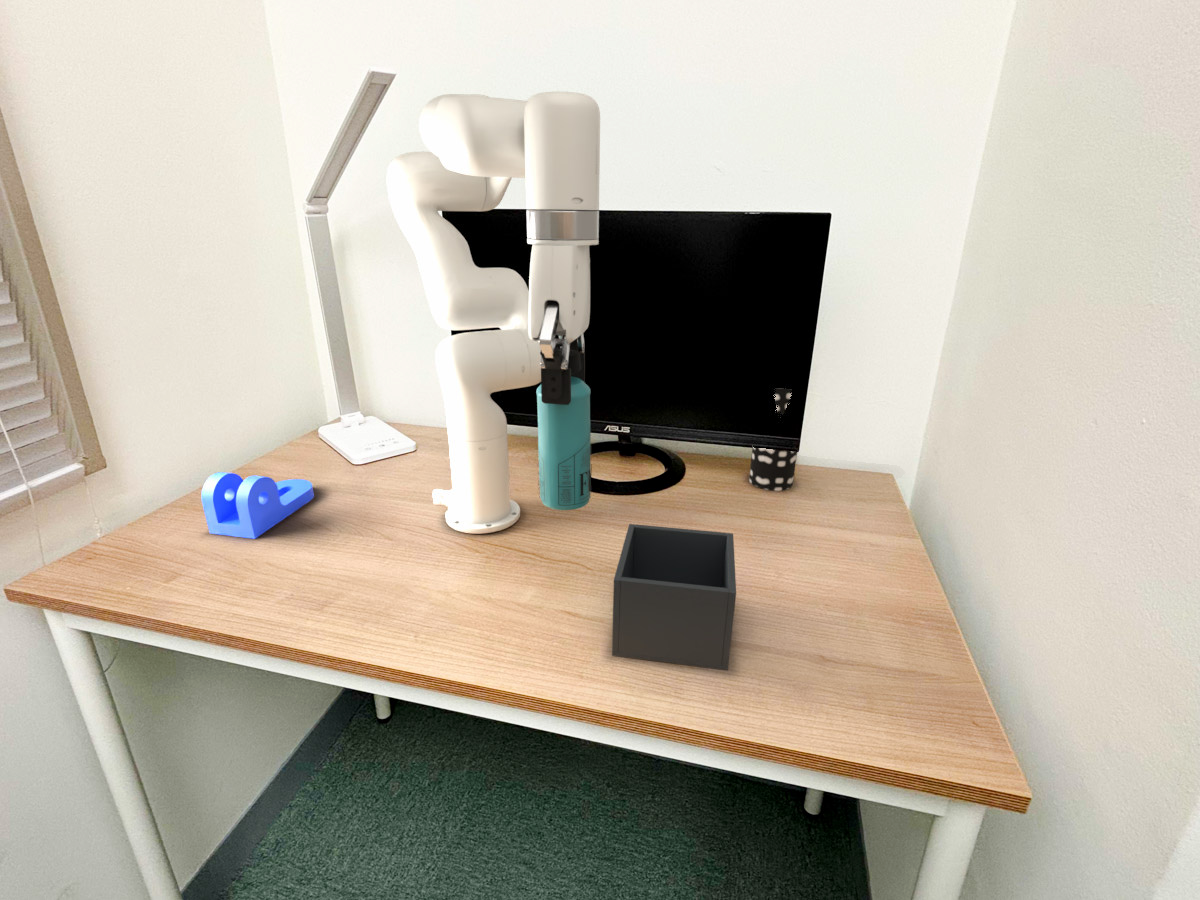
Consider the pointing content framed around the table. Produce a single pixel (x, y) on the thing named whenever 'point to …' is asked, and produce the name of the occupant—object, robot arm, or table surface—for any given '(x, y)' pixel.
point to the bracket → (250, 503)
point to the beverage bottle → (565, 446)
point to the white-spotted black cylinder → (774, 457)
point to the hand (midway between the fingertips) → (564, 392)
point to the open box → (675, 596)
